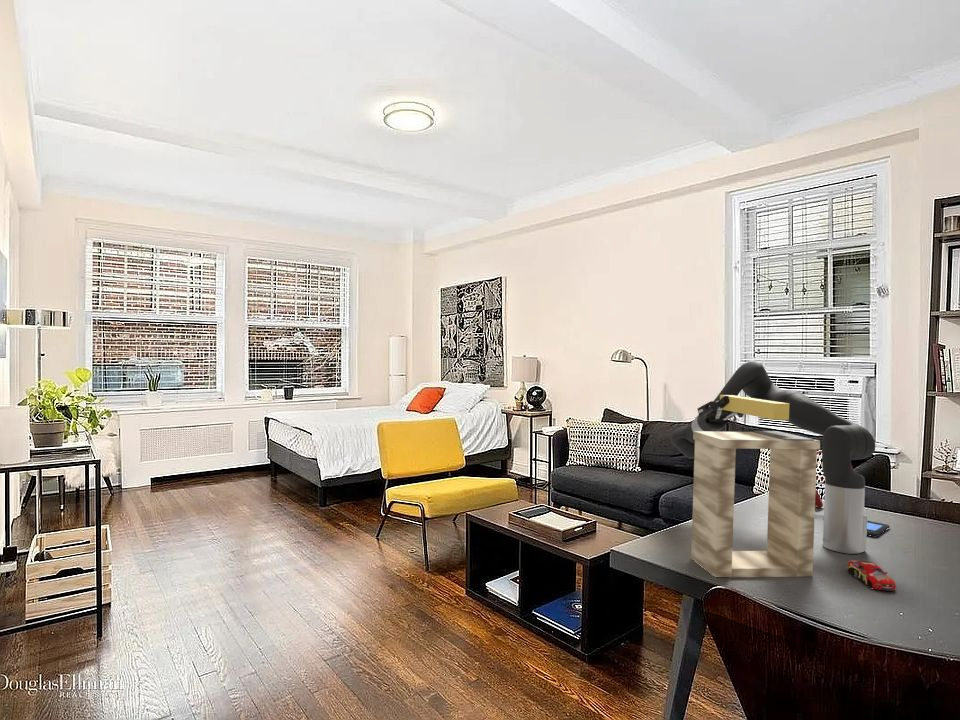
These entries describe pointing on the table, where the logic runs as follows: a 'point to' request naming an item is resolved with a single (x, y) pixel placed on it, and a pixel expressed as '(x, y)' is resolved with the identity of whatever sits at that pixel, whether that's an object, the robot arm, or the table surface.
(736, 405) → the beam
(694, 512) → the shelf
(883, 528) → the handheld game console
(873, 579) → the race car
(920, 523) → the table surface
